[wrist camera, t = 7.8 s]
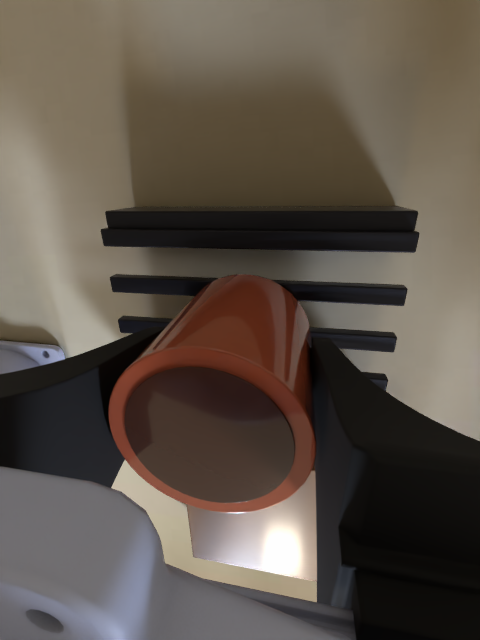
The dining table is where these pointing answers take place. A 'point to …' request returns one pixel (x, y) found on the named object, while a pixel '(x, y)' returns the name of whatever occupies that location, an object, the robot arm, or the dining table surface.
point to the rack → (270, 234)
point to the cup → (222, 400)
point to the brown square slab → (262, 535)
